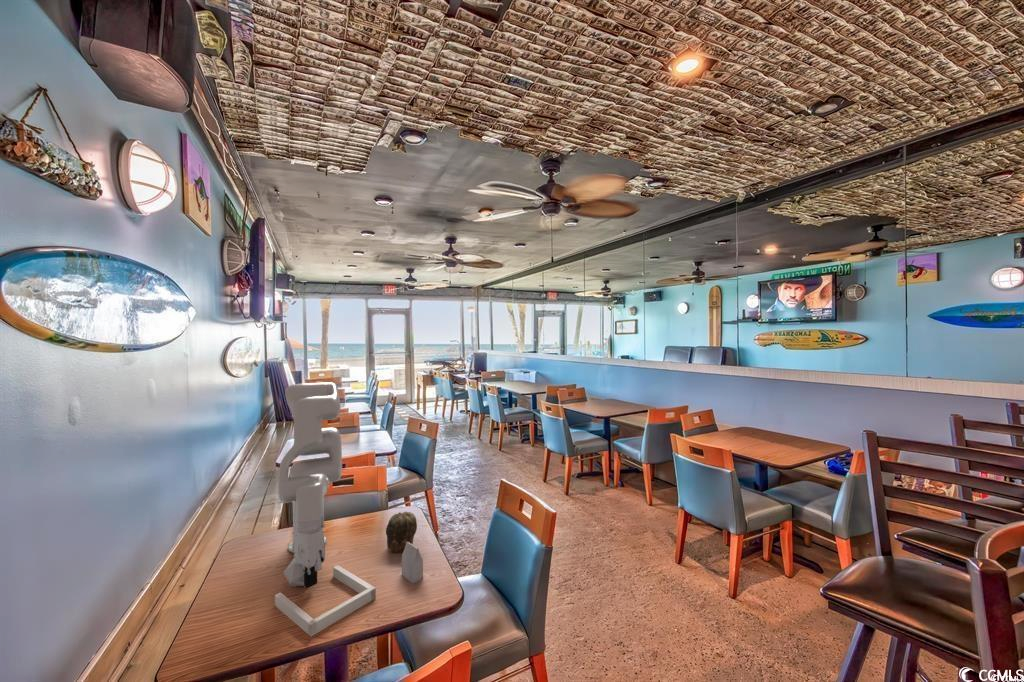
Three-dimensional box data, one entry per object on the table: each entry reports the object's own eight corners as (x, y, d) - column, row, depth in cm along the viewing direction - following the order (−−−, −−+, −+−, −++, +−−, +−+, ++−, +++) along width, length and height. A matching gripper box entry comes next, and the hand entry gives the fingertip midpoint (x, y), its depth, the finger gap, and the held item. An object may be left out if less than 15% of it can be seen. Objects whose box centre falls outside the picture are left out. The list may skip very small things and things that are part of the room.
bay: (274, 605, 115) (274, 595, 115) (337, 574, 130) (337, 565, 130) (311, 636, 102) (310, 624, 102) (375, 598, 118) (375, 587, 118)
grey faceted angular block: (412, 583, 125) (412, 551, 125) (401, 574, 130) (401, 543, 130) (423, 578, 127) (422, 547, 127) (411, 569, 132) (411, 539, 132)
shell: (422, 547, 147) (422, 514, 147) (393, 557, 140) (393, 523, 140) (409, 536, 155) (408, 505, 155) (381, 545, 148) (381, 513, 148)
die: (292, 596, 119) (313, 564, 122) (272, 580, 121) (292, 549, 124) (308, 592, 126) (327, 561, 129) (288, 576, 129) (307, 547, 132)
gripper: (285, 522, 122) (285, 583, 122) (310, 534, 114) (311, 600, 113) (310, 513, 128) (310, 571, 128) (335, 525, 120) (336, 587, 119)
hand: (310, 585), depth 121 cm, fingers closed
